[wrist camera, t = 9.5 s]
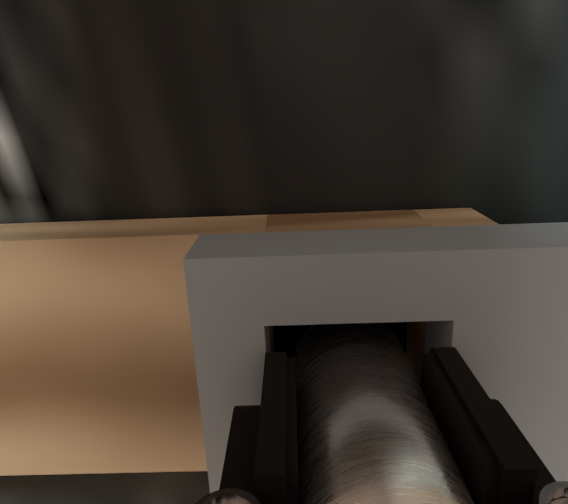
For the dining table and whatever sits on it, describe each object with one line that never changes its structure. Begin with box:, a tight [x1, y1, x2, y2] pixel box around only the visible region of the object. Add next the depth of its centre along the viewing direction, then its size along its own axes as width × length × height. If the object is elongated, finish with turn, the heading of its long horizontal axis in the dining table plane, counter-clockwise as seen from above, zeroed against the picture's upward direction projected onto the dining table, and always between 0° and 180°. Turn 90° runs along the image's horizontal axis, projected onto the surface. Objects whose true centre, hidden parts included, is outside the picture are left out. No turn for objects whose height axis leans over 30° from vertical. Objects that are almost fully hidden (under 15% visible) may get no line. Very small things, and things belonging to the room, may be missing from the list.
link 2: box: [183, 222, 568, 493], centre depth 13 cm, size 8×20×4 cm, turn 92°
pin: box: [294, 323, 475, 504], centre depth 9 cm, size 3×3×9 cm
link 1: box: [0, 208, 499, 476], centre depth 14 cm, size 8×20×2 cm, turn 92°
